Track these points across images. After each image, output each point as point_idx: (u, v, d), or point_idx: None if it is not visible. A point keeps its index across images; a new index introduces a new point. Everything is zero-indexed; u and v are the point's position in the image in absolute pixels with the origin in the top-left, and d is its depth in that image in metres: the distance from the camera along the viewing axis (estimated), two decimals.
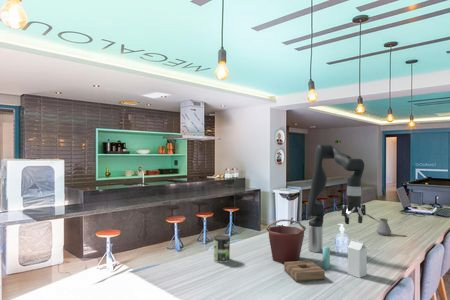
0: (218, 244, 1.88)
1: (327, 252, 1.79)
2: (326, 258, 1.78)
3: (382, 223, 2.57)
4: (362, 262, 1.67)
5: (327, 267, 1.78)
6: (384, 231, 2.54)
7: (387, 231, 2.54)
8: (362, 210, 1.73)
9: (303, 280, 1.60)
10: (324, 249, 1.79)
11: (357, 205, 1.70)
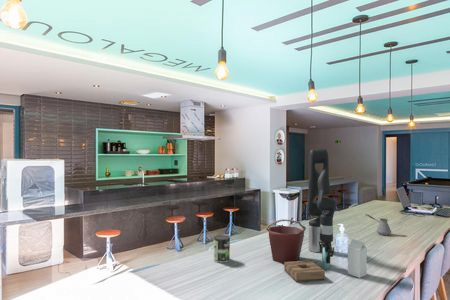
0: (218, 244, 1.88)
1: None
2: None
3: (382, 223, 2.57)
4: (362, 262, 1.67)
5: (327, 267, 1.78)
6: (384, 231, 2.54)
7: (387, 231, 2.54)
8: (322, 247, 1.85)
9: (303, 280, 1.60)
10: (324, 249, 1.79)
11: None
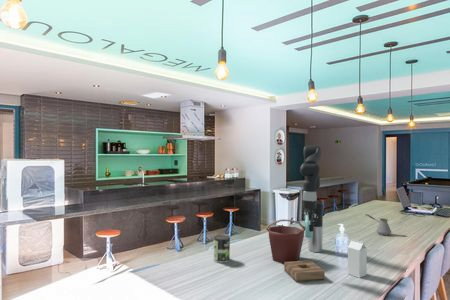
0: (218, 244, 1.88)
1: None
2: None
3: (382, 223, 2.57)
4: (362, 262, 1.67)
5: (310, 236, 1.69)
6: (384, 231, 2.54)
7: (387, 231, 2.54)
8: (305, 216, 1.76)
9: (303, 280, 1.60)
10: (307, 217, 1.70)
11: None
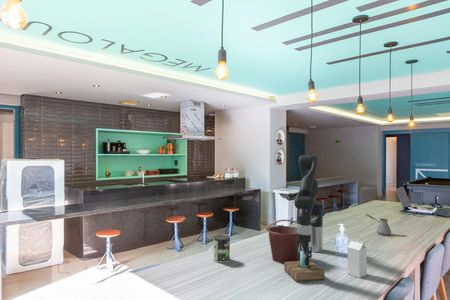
0: (218, 244, 1.88)
1: None
2: (304, 263, 1.67)
3: (382, 223, 2.57)
4: (362, 262, 1.67)
5: None
6: (384, 231, 2.54)
7: (387, 231, 2.54)
8: None
9: (303, 280, 1.60)
10: (301, 253, 1.68)
11: None
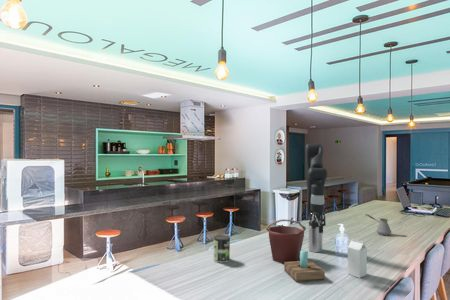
0: (218, 244, 1.88)
1: (304, 256, 1.67)
2: (304, 263, 1.67)
3: (382, 223, 2.57)
4: (362, 262, 1.67)
5: None
6: (384, 231, 2.54)
7: (387, 231, 2.54)
8: (313, 216, 1.82)
9: (303, 280, 1.60)
10: (301, 253, 1.68)
11: None
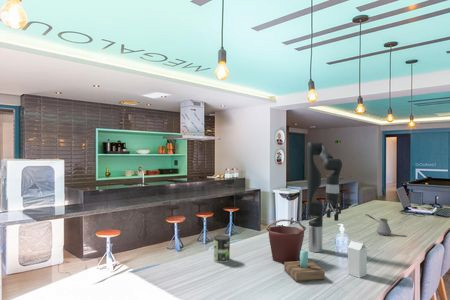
0: (218, 244, 1.88)
1: (304, 256, 1.67)
2: (304, 263, 1.67)
3: (382, 223, 2.57)
4: (362, 262, 1.67)
5: None
6: (384, 231, 2.54)
7: (387, 231, 2.54)
8: None
9: (303, 280, 1.60)
10: (301, 253, 1.68)
11: None
